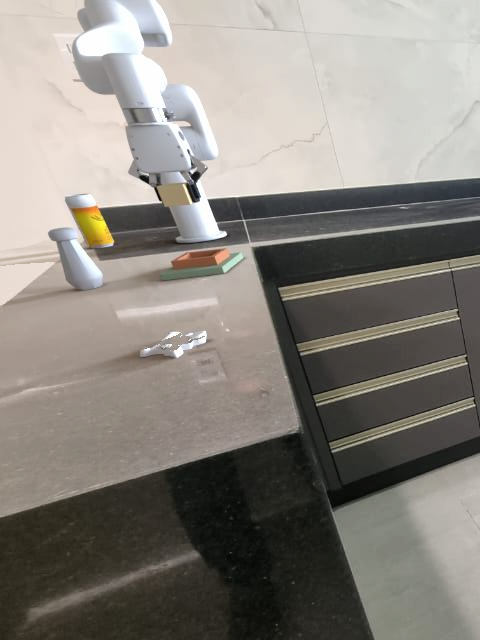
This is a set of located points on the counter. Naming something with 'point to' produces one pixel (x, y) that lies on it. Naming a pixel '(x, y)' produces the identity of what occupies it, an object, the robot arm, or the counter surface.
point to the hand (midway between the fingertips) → (182, 202)
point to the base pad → (201, 264)
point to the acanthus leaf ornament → (182, 347)
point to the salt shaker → (75, 260)
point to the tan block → (174, 194)
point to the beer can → (89, 220)
